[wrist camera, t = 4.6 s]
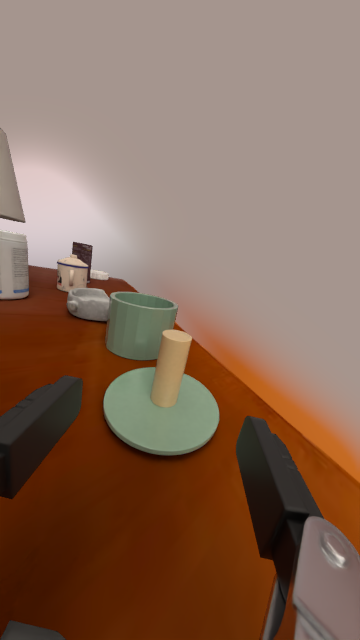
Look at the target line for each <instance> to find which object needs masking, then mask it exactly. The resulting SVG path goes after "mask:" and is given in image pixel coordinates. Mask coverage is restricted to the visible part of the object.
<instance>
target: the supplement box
mask: <svg viewBox="0 0 360 640" xmlns="http://www.w3.org/2000/svg"><path fill="white" fill-rule="evenodd" d="M72 250H73V251H72V254H73V255H77V259H79V260H81V261H82V262H83V263H85V264H87V265H88V267H89V268H88V271H87V283H90V271H91V259H92V246H91V245H87V244H82V243H77V242H73V249H72Z"/></svg>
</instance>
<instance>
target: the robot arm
mask: <svg viewBox="0 0 360 640" xmlns="http://www.w3.org/2000/svg"><path fill="white" fill-rule="evenodd" d="M82 385H83V381H82V379H80V378H76V377H71V376H66V375H65V376H63V377H62V378H60V379H59V380H58V381H57V382H56V383H54V384H48V385H45V386H43V387H41V388H39V389H36V390H35V391H34V392H32V393H31V394H30V395H28V396H27V397H26V398H25V399H24V400H22V401H21V402H19V403H18V404H17V405H16V406H15V407H13V408H11V409H10V410H9V411H7V412H6V413H5V414H4V415H2V416H1V417H0V496H1V497H5V498H9V499H13V498H14V496H15V495H16V494H17V493H18V491H19V490H20V489H21V487H22V486H23V485H24V484H25V482H26V481H27V480H28V479H29V477H30V476H31V475H32V473H33V472H34V471H35V470H36V468H37V467H38V466H39V465H40V463H41V462H42V461H43V460H44V458H45V457H46V456H47V454H48V453H49V452H50V451H51V449H52V448H53V447H54V446H55V444H56V443H57V442H58V440H59V439H60V438H61V437H62V435H63V434H64V433H65V432H66V430H67V429H68V428H69V426H70V425H71V424H72V423H73V421H74V420H75V419H76V417H77V415H78V413H79V411H80V408H81V398H82ZM236 455H237V459H238V464H239V468H240V472H241V476H242V481H243V485H244V489H245V493H246V498H247V502H248V506H249V511H250V515H251V519H252V523H253V528H254V532H255V536H256V540H257V545H258V549H259V553H260V557H261V558H266V559H270V560H273V561H274V565H275V568H276V572H277V573H276V574H275V577H274V580H273V584H272V588H271V592H270V596H269V601H268V605H267V609H266V613H265V617H264V621H263V626H262V630H261V634H260V638H259V640H360V556H359V554H358V553H357V551H356V550H355V548H354V547H353V545H352V544H351V543H350V541H349V540H348V539H347V538H346V537H345V535H344V534H343V533H342V532H341V531H340V530H339V529H337V528H336V527H335V526H334V525H332V524H331V523H330V522H328V521H326V520H325V519H324V518H323V516H322V514H321V512H320V510H319V508H318V507H317V505H316V503H315V501H314V499H313V497H312V495H311V493H310V491H309V489H308V488H307V486H306V484H305V482H304V480H303V478H302V476H301V474H300V472H299V471H298V470H297V469H298V468H297V467H296V465H295V463H294V461H293V460H292V457H291V455H290V453H289V451H288V449H287V448H286V446H285V444H284V443H283V442H282V441H281V440H280V439H279V438H278V436H277V435H276V434H272V433H271V431H270V429H269V427H268V425H267V423H266V421H265V420H264V419H260V418H255V417H251V416H247V417H246V418H245V420H244V423H243V426H242V428H241V431H240V434H239V437H238V440H237V444H236ZM0 640H66V639H65V638H64V637H63V636H62V635H61V634H59V633H58V632H57V631H53V630H49V629H45V628H41V627H36V626H32V625H28V624H24V623H19V622H15V621H11V620H10V622H9V623H8V625H7V627H6V629H5V631H4V633H3V635H2V637H1V639H0Z"/></svg>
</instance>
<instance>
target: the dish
mask: <svg viewBox="0 0 360 640" xmlns="http://www.w3.org/2000/svg"><path fill="white" fill-rule="evenodd" d="M109 300H110V298H109V297H108V296H107V295H106V294H105V291H104V290H101V289H94V288H74V289H73V290H70V291H69V293H68V301H67V308H68V310H69V312H70V313H71V314H73V315H74V316H77V317H80V318H83V319H88V320H97V321H107V319H108V310H109Z"/></svg>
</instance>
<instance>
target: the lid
mask: <svg viewBox="0 0 360 640" xmlns="http://www.w3.org/2000/svg"><path fill="white" fill-rule="evenodd" d="M191 340H192V337H191V336H190V335H189V334H187V333H185V332H182V331H178V330H165V331H163V332H162V337H161V343H160V348H159V353H158V358H157V364H156V367H149V368H140V369H135V370H132V371H129V372H126V373H124V374H122V375H121V376H119V377H118V378H116V379H115V380H114V381H113V382H112V383H111V384H110V385H109V387H108V389H107V390H106V393H105V395H104V401H103V412H104V416H105V419H106V421H107V424H108V425H109V427H110V428H111V430H112V431H113V432H114V433H115V434H116V435H117V436H118V437H119V438H120V439H121V440H123V441H124V442H125V443H127V444H129V445H130V446H132V447H134V448H136V449H138V450H141V451H144V452H147V453H151V454H157V455H169V456H171V455H181V454H185V453H189V452H192V451H194V450H197V449H198V448H200V447H202V446H203V445H205V444H206V443H207V442H208V441H209V440H210V439H211V438H212V436H213V435H214V433H215V431H216V429H217V426H218V422H219V409H218V405H217V403H216V401H215V399H214V397H213V395H212V394H211V393H210V392H209V390H208V389H207V388H206V387H205V386H203V385H202V384H201V383H200V382H198V381H197V380H195V379H194V378H192V377H190V376H188V375H186V374H184V370H185V366H186V361H187V357H188V353H189V349H190V345H191Z"/></svg>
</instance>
